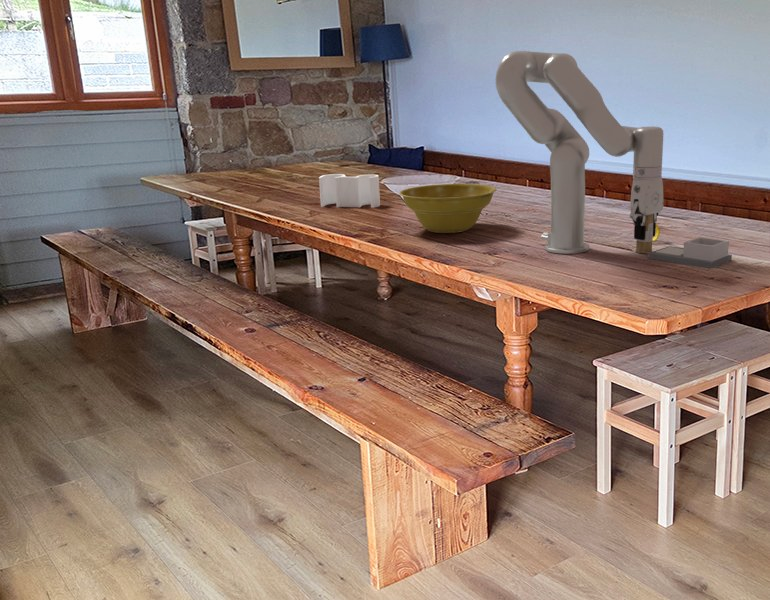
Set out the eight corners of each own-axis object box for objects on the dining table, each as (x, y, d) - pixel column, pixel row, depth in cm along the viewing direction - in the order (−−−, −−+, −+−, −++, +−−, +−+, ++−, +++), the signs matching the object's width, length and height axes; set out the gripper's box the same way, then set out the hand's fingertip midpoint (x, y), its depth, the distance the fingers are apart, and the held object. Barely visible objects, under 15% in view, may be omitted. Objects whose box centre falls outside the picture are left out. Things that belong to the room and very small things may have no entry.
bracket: (384, 204, 330) (382, 174, 327) (374, 208, 322) (372, 177, 318) (329, 202, 340) (327, 173, 337) (318, 207, 331) (316, 177, 328)
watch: (644, 244, 241) (644, 224, 239) (638, 242, 244) (638, 223, 242) (661, 240, 243) (661, 221, 241) (655, 239, 245) (655, 219, 244)
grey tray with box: (648, 258, 223) (649, 238, 222) (669, 251, 230) (670, 232, 229) (711, 268, 210) (712, 247, 209) (731, 260, 217) (732, 240, 216)
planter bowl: (428, 218, 296) (427, 181, 292) (511, 223, 279) (511, 184, 276) (383, 236, 269) (381, 195, 266) (471, 242, 253) (470, 199, 249)
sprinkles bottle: (632, 252, 231) (634, 205, 227) (641, 249, 234) (643, 203, 230) (646, 254, 228) (648, 206, 224) (655, 251, 230) (658, 204, 227)
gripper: (642, 177, 216) (640, 244, 222) (675, 169, 227) (672, 234, 232) (618, 175, 222) (616, 241, 227) (651, 168, 232) (648, 231, 238)
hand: (644, 236), depth 229 cm, fingers closed on sprinkles bottle, 4 cm apart
